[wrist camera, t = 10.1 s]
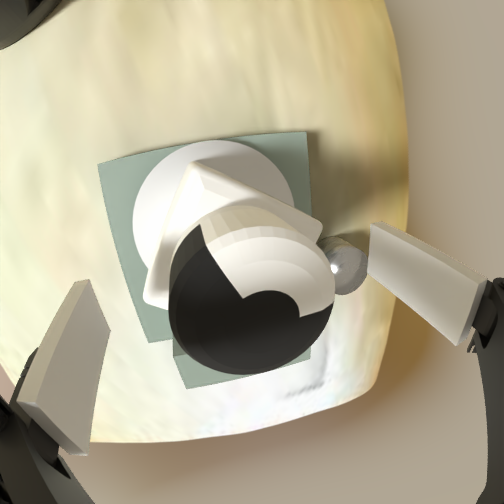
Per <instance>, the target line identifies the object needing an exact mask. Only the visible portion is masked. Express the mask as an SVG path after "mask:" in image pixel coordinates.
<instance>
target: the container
mask: <svg viewBox="0 0 504 504" xmlns="http://www.w3.org/2000/svg"><path fill="white" fill-rule="evenodd" d="M322 229H323V226H322V224H321V222H320V221H318V220H317V219H315V218H313V217H311V216H309V215H307V214H306V213H304V212H302V211H300V210H298V209H296V208H295V207H293V206H291V205H289V204H287V203H285V202H283V201H281V200H279V199H278V198H275V197H273V196H271V195H269V194H267V193H265V192H263V191H261V190H259V189H256V188H254V187H252V186H250V185H248V184H246V183H243V182H241V181H239V180H237V179H235V178H232V177H230V176H228V175H226V174H223V173H221V172H219V171H217V170H214V169H212V168H210V167H207V166H205V165H203V164H200V163H198V162H196V161H191V162H189V164H188V165H187V167H186V170H185V172H184V174H183V176H182V179H181V181H180V183H179V186H178V188H177V190H176V193H175V195H174V197H173V200H172V202H171V205H170V207H169V210H168V212H167V215H166V217H165V220H164V222H163V225H162V227H161V230H160V233H159V235H158V238H157V241H156V244H155V246H154V249H153V253H152V257H151V261H150V265H149V269H148V274H147V278H146V283H145V287H144V292H143V299H144V301H145V302H146V303H148V304H150V305H153V306H156V307H159V308H163V309H166V310H168V314H169V322H170V327H171V330H172V333H173V335H174V337H175V339H176V341H177V342H178V344H179V346H180V347H181V348H182V349H183V350H184V351H185V353H186V354H187V355H189V356H190V357H191V358H192V359H193V360H195V361H197V362H198V363H200V364H202V365H203V366H206V367H208V368H210V369H213V370H216V371H219V372H223V373H227V374H234V375H251V374H258V373H264V372H267V371H271V370H274V369H276V368H279V367H281V366H283V365H285V364H287V363H289V362H291V361H293V360H294V359H296V358H297V357H299V356H300V355H301V354H302V353H304V352H305V351H306V350H307V349H308V348H309V347H310V346H311V345H312V344H313V343H314V342H315V341H316V340H317V338H318V337H319V336H320V334H321V333H322V331H323V330H324V328H325V326H326V324H327V322H328V320H329V317H330V314H331V311H332V308H333V304H334V299H335V279H334V274H333V270H332V267H331V265H330V263H329V261H328V259H327V257H326V256H325V254H324V253H323V251H322V250H321V249H320V248H319V247H318V246H317V245H316V242H317V240H318V238H319V236H320V234H321V232H322Z"/></svg>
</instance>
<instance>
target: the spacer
mask: <svg viewBox="0 0 504 504" xmlns="http://www.w3.org/2000/svg"><path fill="white" fill-rule="evenodd" d="M317 246H318V247H319V248H320V249H321V250H322V251H323V253H324V254H325V256H326V257H327V259H328V261H329V263H330V265H331V267H332V270H333V274H334V279H335V294H338V295H345V294H349V293H351V292H353V291H355V290H356V289H357V288H358V287H359V286H360V285H361V284H362V283H363V281H364V280H365V278H366V276H367V268H368V258H367V256H366V255H365V253H364V252H363V251H361V250H359V249H358V248H356V247H355V246H353V245H351V244H350V243H348V242H347V241H345V240H343V239H342V238H340V237H336V236H330V237H327V238H325V239H323V240H321V241H320V242H319V243H318V244H317Z"/></svg>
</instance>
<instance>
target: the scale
mask: <svg viewBox="0 0 504 504" xmlns="http://www.w3.org/2000/svg"><path fill="white" fill-rule="evenodd" d="M191 161H196V162H198V163H200V164H203V165H205V166H207V167H210V168H212V169H214V170H217V171H219V172H221V173H223V174H226V175H228V176H230V177H232V178H235V179H237V180H239V181H241V182H243V183H246V184H248V185H250V186H252V187H254V188H256V189H259V190H261V191H263V192H265V193H267V194H269V195H271V196H273V197H275V198H278V199H279V200H281V201H283V202H285V203H287V204H289V205H291V206H293V207H295V208H296V209H298V210H300V211H302V212H304V213H306V214H307V215H309V216H311V217H312V205H311V187H310V172H309V159H308V147H307V136H306V132H289V133H274V134H262V135H251V136H241V137H233V138H225V139H217V140H210V141H202V142H197V143H191V144H185V145H179V146H174V147H168V148H163V149H158V150H154V151H149V152H144V153H140V154H136V155H131V156H127V157H123V158H119V159H115V160H112V161H108V162H104V163H101V164H97V165H98V171H99V177H100V182H101V187H102V192H103V197H104V202H105V206H106V211H107V215H108V219H109V224H110V228H111V232H112V235H113V239H114V243H115V247H116V250H117V254H118V257H119V261H120V264H121V267H122V271H123V274H124V277H125V280H126V283H127V286H128V289H129V292H130V295H131V298H132V301H133V304H134V306H135V309H136V312H137V315H138V317H139V320H140V323H141V325H142V328H143V330H144V333H145V335H146V338H147V340H148V343H152V342H158V341H164V340H170V339H173V358H174V360H175V363H176V365H177V368H178V370H179V373H180V375H181V377H182V380H183V382H184V384H185V387H186V389H190V388H196V387H202V386H207V385H212V384H217V383H222V382H226V381H231V380H235V379H239V378H244V377H248V376H252V375H256V374H251V375H234V374H227V373H223V372H219V371H216V370H213V369H210V368H208V367H206V366H203V365H202V364H200V363H198V362H197V361H195V360H193V359H192V358H191V357H190V356H189V355H187V354H186V353H185V351H184V350H183V349H182V348H181V347H180V346H179V344H178V342H177V341H176V339H175V337H174V335H173V333H172V330H171V327H170V322H169V314H168V310H166V309H163V308H159V307H156V306H153V305H150V304H148V303H146V302H145V301H144V299H143V292H144V287H145V283H146V278H147V274H148V269H149V265H150V261H151V257H152V253H153V249H154V246H155V244H156V241H157V238H158V235H159V233H160V230H161V227H162V225H163V222H164V220H165V217H166V215H167V212H168V210H169V207H170V205H171V202H172V200H173V197H174V195H175V193H176V190H177V188H178V186H179V183H180V181H181V179H182V176H183V174H184V172H185V170H186V167H187V165H188V164H189V162H191ZM310 352H311V346H310V347H309V348H308V349H307V350H306V351H305V352H304V353H302V354H301V355H300V356H299V357H297V358H296V359H294V360H293V361H291V362H289V363H287V364H285V365H283V366H281V367H279V368H282V367H285V366H289V365H292V364H295V363H298V362H302V361H305V360H308V359H310ZM276 369H278V368H276ZM274 370H275V369H274ZM258 374H260V373H258Z"/></svg>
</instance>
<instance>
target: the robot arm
mask: <svg viewBox="0 0 504 504" xmlns="http://www.w3.org/2000/svg"><path fill="white" fill-rule="evenodd" d="M60 1H61V0H0V50H1V49H3V48H5V47H7V46H9V45H11V44H13V43H14V42H16V41H17V40H19V39H20V38H22V37H23V36H24V35H26V34H27V33H28V32H30V31H31V30H32V29H33V28H34V27H36V26H37V25H38V24H39V23H40V22H41V21H42V20H43V19H44V18H45V17H46V16H47V15H48V14H49V13H50V12H51V11H52V10H53V9H54V8H55V7H56V6H57V5H58V4H59V2H60ZM367 273H368V274H369V275H370V276H371V277H373V278H374V279H375V280H377V281H378V282H379V283H380V284H382V285H383V286H384V287H386V288H387V289H388V290H389V291H391V292H392V293H393V294H394V295H396V296H397V297H398V298H399V299H401V300H402V301H403V302H404V303H406V304H407V305H408V306H409V307H411V308H412V309H413V310H414V311H415V312H417V313H418V314H419V315H420V316H421V317H423V318H424V319H425V320H426V321H427V322H429V323H430V324H431V325H432V326H433V327H435V328H436V329H437V330H438V331H439V332H441V333H442V334H443V335H444V336H445V337H446V338H447V339H449V340H450V341H451V342H452V343H453V344H454V345H455V346H457V345H458V344H460V343H461V342H463V341H464V340H465V339H467V336H468V334H469V331H470V329H471V327H472V326H473V327H474V328H475V329H476V330H475V333H474V335H473V337H472V340H471V342H470V344H469V346H468V348H467V352H470V350H471V348H472V346H474V345H475V347H474V349H473V352H472V353H477V355H478V360H479V365H480V370H481V376H482V383H483V389H484V397H485V406H486V417H487V434H488V468H487V482H486V486H485V489H484V491H483V492H482V494H481V495H480V497H479V498H478V500H477V503H476V504H504V278H496V279H494V280H493V283H492V282H490V281H489V280H488V278H487V277H485V276H483V275H481V274H480V273H478V272H477V271H475V270H473V269H471V268H470V267H468V266H466V265H464V264H463V263H461V262H460V261H458V260H456V259H454V258H452V257H451V256H449V255H447V254H445V253H443V252H442V251H440V250H438V249H436V248H434V247H432V246H430V245H429V244H426V243H425V242H423V241H421V240H419V239H417V238H415V237H413V236H411V235H409V234H407V233H405V232H403V231H401V230H399V229H397V228H395V227H393V226H391V225H389V224H387V223H384V222H382V221H381V222H376V223H371V225H370V243H369V257H368V268H367ZM110 331H111V330H110V328H109V326H108V324H107V322H106V319H105V317H104V315H103V312H102V310H101V308H100V305H99V303H98V300H97V298H96V295H95V293H94V290H93V288H92V285H91V283H90V280H89V279H88V280H83V281H78V282H75V283H74V284H73V286H72V288H71V289H70V291H69V293H68V294H67V296H66V298H65V299H64V301H63V303H62V305H61V306H60V308H59V310H58V312H57V313H56V315H55V317H54V319H53V321H52V323H51V325H50V326H49V328H48V330H47V332H46V334H45V336H44V338H43V340H42V342H41V344H40V346H39V348H36V349H35V351H34V352H33V353H32V354H31V355H30V356H29V358H28V360H27V362H26V364H25V366H24V369H23V371H22V373H21V375H20V376H21V378H19V380H18V383H17V385H16V387H15V390H14V393H13V395H12V398H11V400H10V403H9V405H8V403H7V402H6V401H5V400H4V399H3V398H2V396H1V395H0V504H95V503H94V502H93V501H92V499H91V498H90V497H89V495H88V494H87V493H86V492H85V490H84V489H83V487H82V486H81V485H80V483H79V482H78V480H77V479H76V478H75V476H74V474H73V473H72V472H71V470H70V469H69V467H68V466H67V464H66V462H65V461H64V459H63V458H62V457H61V456H60V455H59V454H58V449H59V446H60V447H62V448H63V449H64V450H65V451H66V452H67V453H69V454H71V455H84V456H85V455H86V456H88V455H89V444H90V435H91V427H92V420H93V413H94V407H95V401H96V395H97V389H98V384H99V379H100V374H101V369H102V365H103V360H104V356H105V351H106V347H107V343H108V339H109V335H110Z"/></svg>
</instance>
